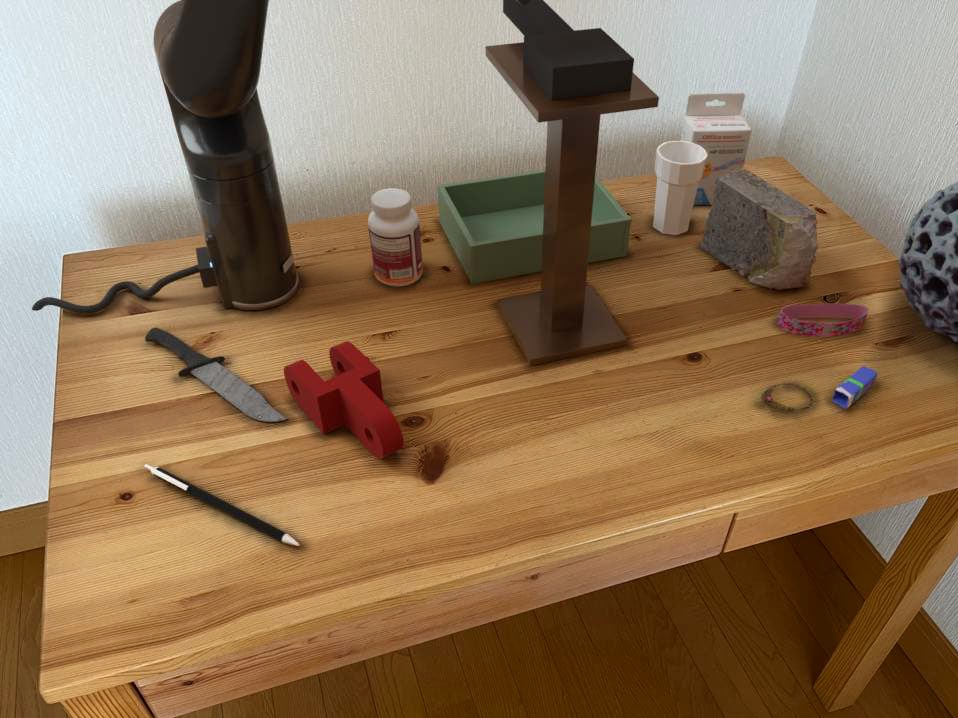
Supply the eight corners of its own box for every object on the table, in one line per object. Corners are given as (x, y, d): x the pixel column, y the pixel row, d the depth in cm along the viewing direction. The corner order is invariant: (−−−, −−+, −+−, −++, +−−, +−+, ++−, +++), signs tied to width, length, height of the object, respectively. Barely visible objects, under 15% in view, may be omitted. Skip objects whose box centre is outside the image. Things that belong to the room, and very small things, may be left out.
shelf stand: (530, 366, 97) (538, 112, 77) (487, 287, 108) (485, 45, 88) (626, 345, 101) (659, 96, 80) (576, 270, 111) (593, 34, 91)
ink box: (680, 207, 124) (696, 109, 114) (671, 189, 127) (686, 93, 117) (736, 204, 125) (757, 107, 115) (726, 187, 128) (746, 91, 118)
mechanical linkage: (288, 394, 93) (280, 357, 89) (347, 369, 96) (341, 333, 93) (363, 478, 83) (357, 441, 80) (425, 447, 87) (422, 410, 84)
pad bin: (471, 284, 108) (470, 246, 105) (439, 221, 119) (437, 184, 115) (627, 256, 114) (631, 219, 110) (583, 198, 125) (585, 163, 121)
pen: (150, 462, 84) (143, 460, 83) (304, 541, 78) (298, 540, 77) (146, 470, 84) (138, 468, 83) (300, 550, 78) (293, 549, 77)
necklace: (751, 392, 95) (753, 385, 94) (799, 381, 97) (801, 374, 96) (770, 418, 92) (773, 412, 92) (819, 406, 94) (822, 400, 93)
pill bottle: (397, 255, 113) (389, 179, 105) (433, 271, 110) (428, 195, 103) (364, 276, 109) (354, 199, 101) (400, 294, 106) (393, 216, 99)
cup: (682, 243, 117) (694, 169, 109) (638, 228, 119) (648, 155, 112) (701, 222, 121) (715, 149, 114) (659, 208, 124) (669, 136, 116)
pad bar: (551, 100, 79) (552, 67, 77) (481, 16, 94) (480, -13, 91) (631, 90, 81) (634, 58, 79) (549, 10, 96) (550, -19, 94)
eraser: (834, 388, 93) (851, 396, 92) (862, 364, 97) (878, 372, 96) (830, 401, 95) (847, 410, 94) (857, 377, 98) (873, 385, 97)
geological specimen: (710, 174, 109) (796, 229, 100) (745, 163, 112) (831, 216, 103) (695, 245, 117) (774, 303, 108) (728, 233, 119) (808, 289, 110)
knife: (260, 440, 88) (299, 415, 91) (258, 433, 87) (297, 408, 90) (134, 343, 97) (172, 323, 100) (131, 336, 97) (170, 316, 100)
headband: (876, 322, 102) (871, 336, 103) (865, 301, 105) (860, 316, 106) (786, 324, 101) (782, 339, 103) (778, 304, 104) (774, 318, 106)
